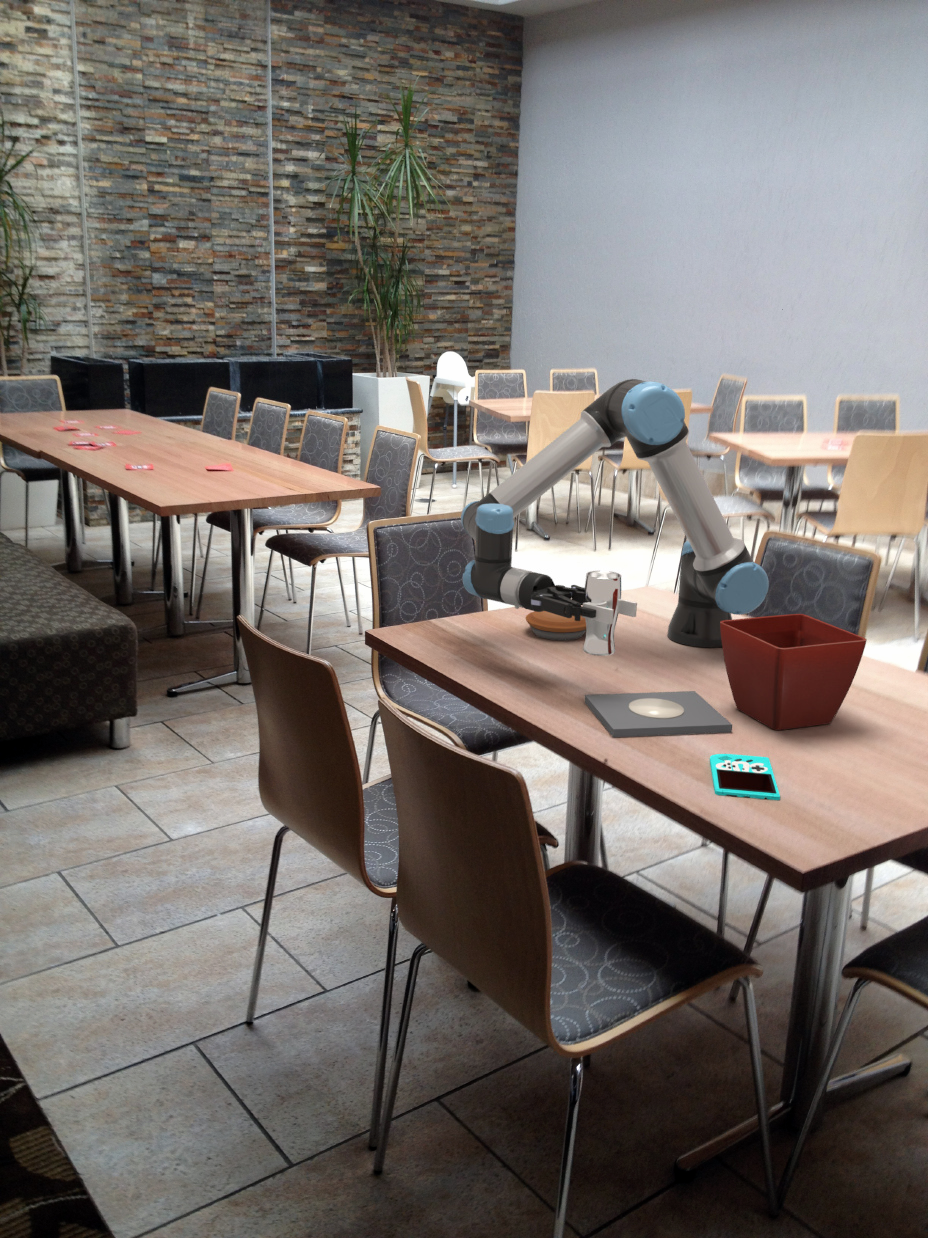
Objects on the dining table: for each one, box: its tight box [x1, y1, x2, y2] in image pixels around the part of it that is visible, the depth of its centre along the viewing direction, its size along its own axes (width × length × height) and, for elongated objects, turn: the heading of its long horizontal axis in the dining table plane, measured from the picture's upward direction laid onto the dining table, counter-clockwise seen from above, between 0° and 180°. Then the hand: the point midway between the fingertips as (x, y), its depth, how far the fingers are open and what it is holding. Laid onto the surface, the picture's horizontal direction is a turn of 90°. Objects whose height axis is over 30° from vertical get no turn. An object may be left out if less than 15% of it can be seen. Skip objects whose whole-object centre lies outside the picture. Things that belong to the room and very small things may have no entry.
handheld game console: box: [709, 753, 781, 801], centre depth 176 cm, size 10×16×1 cm, turn 171°
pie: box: [525, 611, 586, 641], centre depth 252 cm, size 16×16×5 cm
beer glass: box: [582, 570, 622, 657], centre depth 206 cm, size 7×7×15 cm
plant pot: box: [720, 613, 868, 731], centre depth 202 cm, size 19×19×17 cm
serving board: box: [583, 690, 733, 738], centre depth 201 cm, size 22×18×2 cm
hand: (623, 613), depth 203 cm, fingers closed on beer glass, 7 cm apart
